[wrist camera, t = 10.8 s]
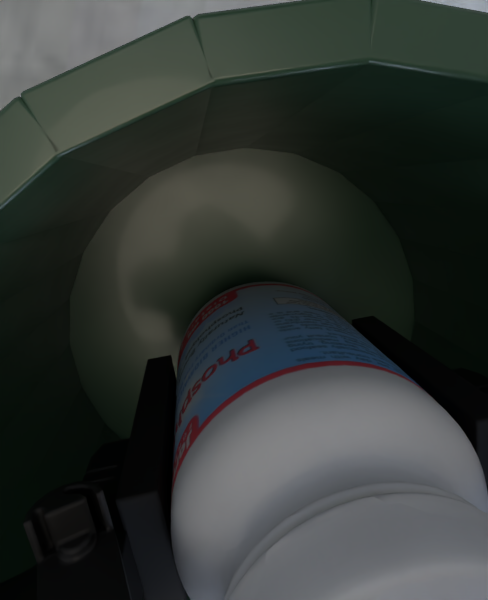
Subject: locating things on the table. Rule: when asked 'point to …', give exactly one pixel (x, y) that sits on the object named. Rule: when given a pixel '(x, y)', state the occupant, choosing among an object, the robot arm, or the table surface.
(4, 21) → the table surface
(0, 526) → the tin
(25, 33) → the table surface
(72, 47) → the table surface
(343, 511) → the pill bottle
